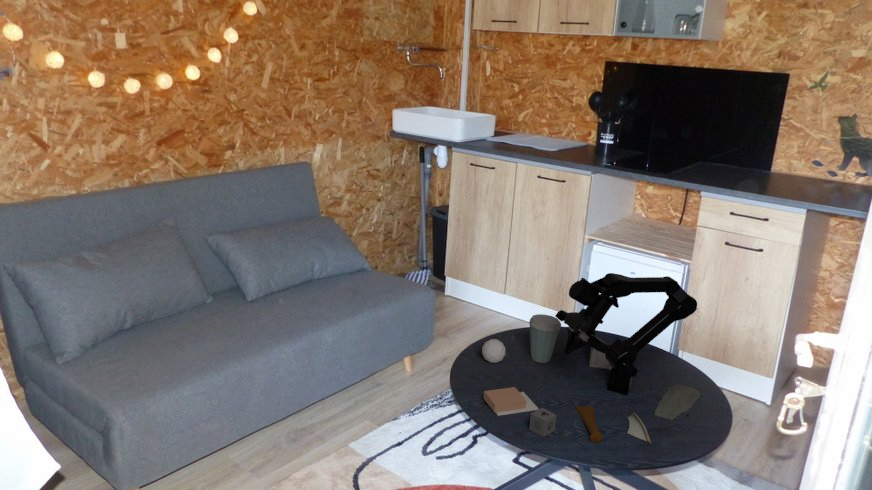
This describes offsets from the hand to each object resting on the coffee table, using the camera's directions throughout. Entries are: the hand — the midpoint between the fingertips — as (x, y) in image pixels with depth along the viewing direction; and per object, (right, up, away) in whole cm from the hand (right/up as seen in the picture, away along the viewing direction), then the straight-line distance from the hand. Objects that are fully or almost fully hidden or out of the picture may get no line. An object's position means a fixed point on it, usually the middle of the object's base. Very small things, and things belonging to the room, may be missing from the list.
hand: (565, 354), depth 211 cm
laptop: (+20, -6, +29) cm, 36 cm away
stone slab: (+34, -16, +1) cm, 38 cm away
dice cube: (-10, -19, -16) cm, 26 cm away
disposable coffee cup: (-3, -6, +26) cm, 26 cm away
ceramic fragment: (+18, -20, -14) cm, 30 cm away
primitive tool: (+4, -18, -11) cm, 22 cm away
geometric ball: (-20, -6, +22) cm, 31 cm away
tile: (-14, -12, -3) cm, 19 cm away
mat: (-17, -14, -4) cm, 22 cm away
